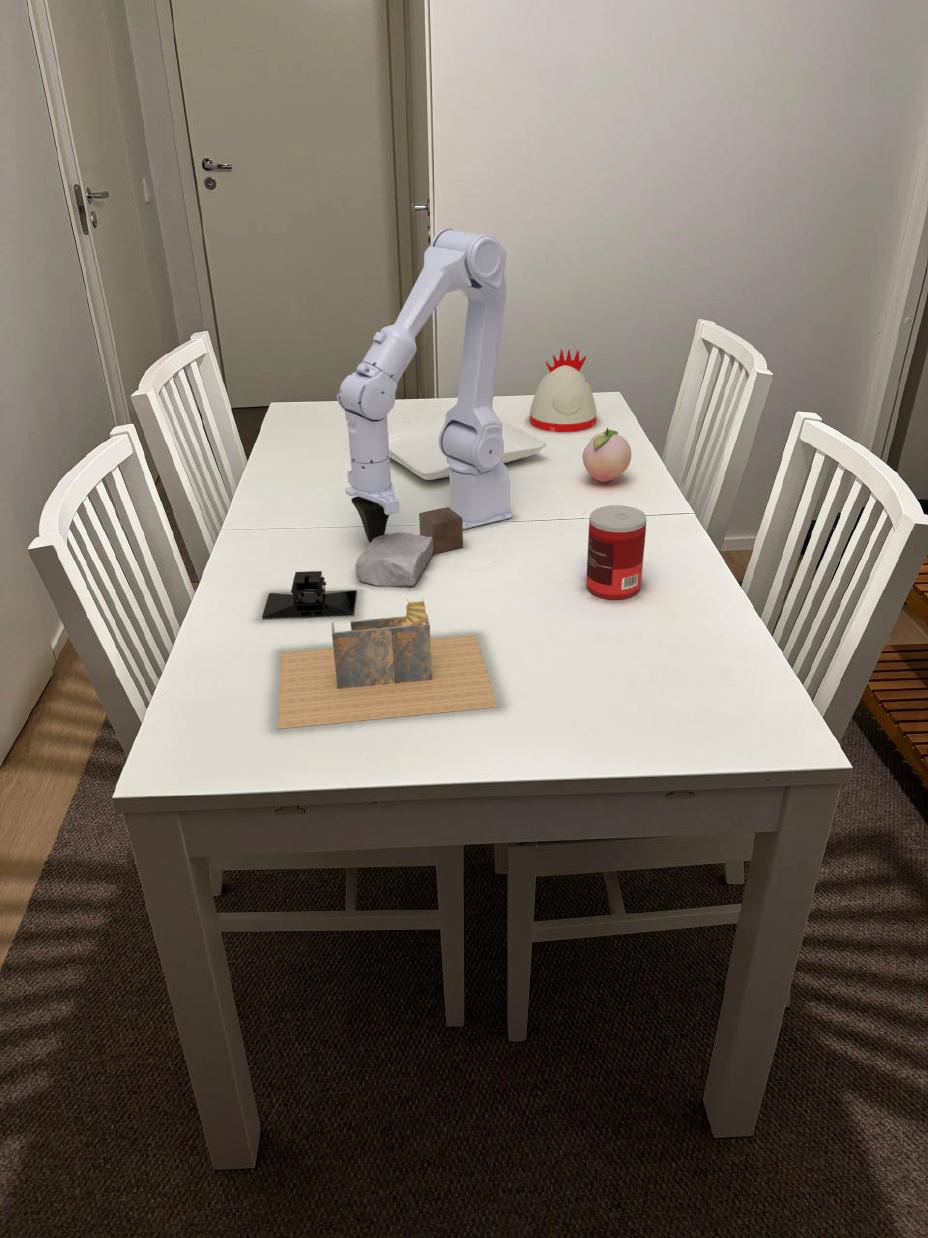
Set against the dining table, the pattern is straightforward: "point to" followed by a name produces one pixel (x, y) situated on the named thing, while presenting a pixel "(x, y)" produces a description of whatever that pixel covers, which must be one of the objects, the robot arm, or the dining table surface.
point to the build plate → (310, 599)
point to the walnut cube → (442, 529)
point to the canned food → (615, 551)
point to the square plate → (422, 452)
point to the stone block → (394, 559)
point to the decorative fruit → (607, 456)
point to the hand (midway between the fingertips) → (375, 541)
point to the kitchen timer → (564, 398)
